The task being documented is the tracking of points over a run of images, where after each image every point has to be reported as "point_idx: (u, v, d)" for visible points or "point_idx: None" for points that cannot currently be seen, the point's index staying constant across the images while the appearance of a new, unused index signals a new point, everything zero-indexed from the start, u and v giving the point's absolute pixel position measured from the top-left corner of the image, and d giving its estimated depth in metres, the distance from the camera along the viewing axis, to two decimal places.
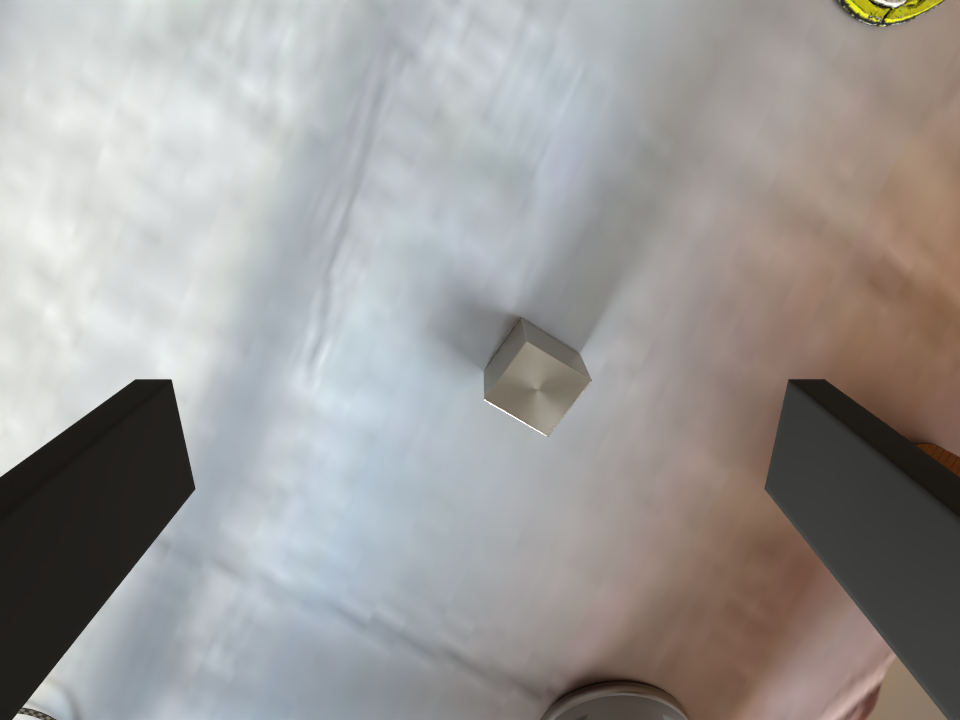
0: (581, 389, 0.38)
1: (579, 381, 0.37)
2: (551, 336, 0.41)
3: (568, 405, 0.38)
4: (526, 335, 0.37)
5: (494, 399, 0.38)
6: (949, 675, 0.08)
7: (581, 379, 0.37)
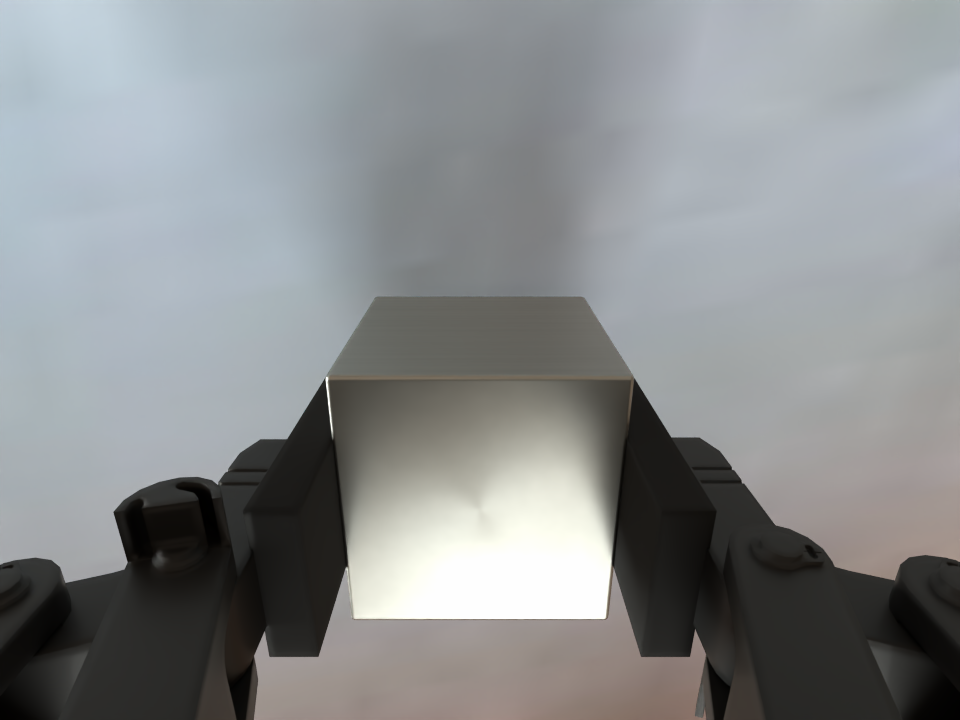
0: (563, 613, 0.11)
1: (585, 592, 0.11)
2: None
3: (489, 610, 0.11)
4: None
5: (353, 407, 0.09)
6: (625, 569, 0.10)
7: (595, 595, 0.11)
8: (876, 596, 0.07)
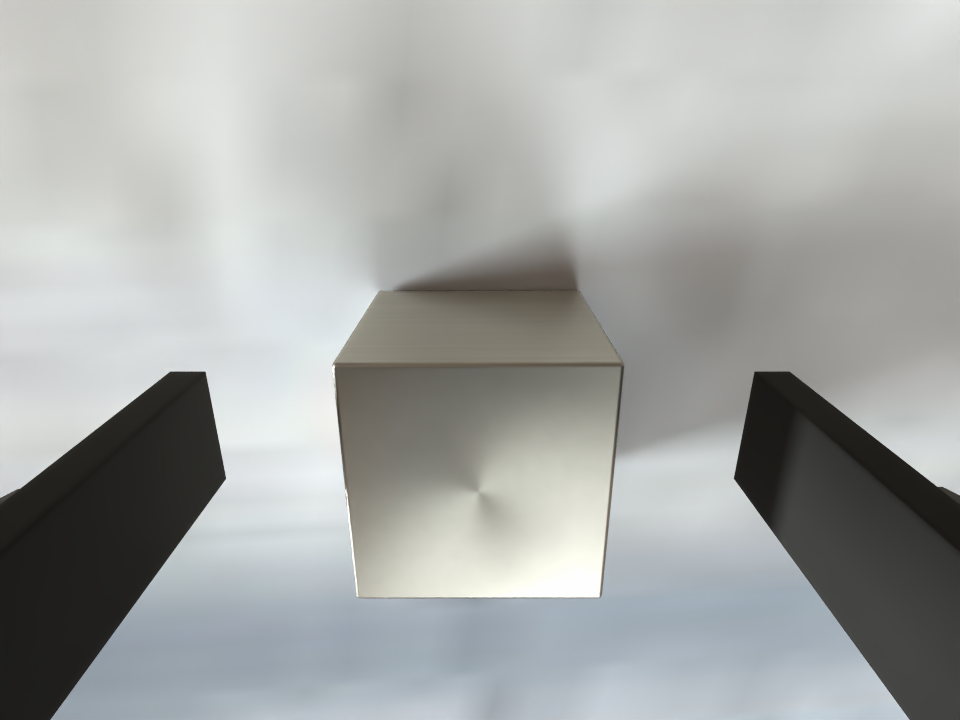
0: (558, 592, 0.12)
1: (579, 572, 0.11)
2: None
3: (489, 589, 0.12)
4: None
5: (358, 394, 0.10)
6: (890, 650, 0.08)
7: (588, 574, 0.11)
8: None
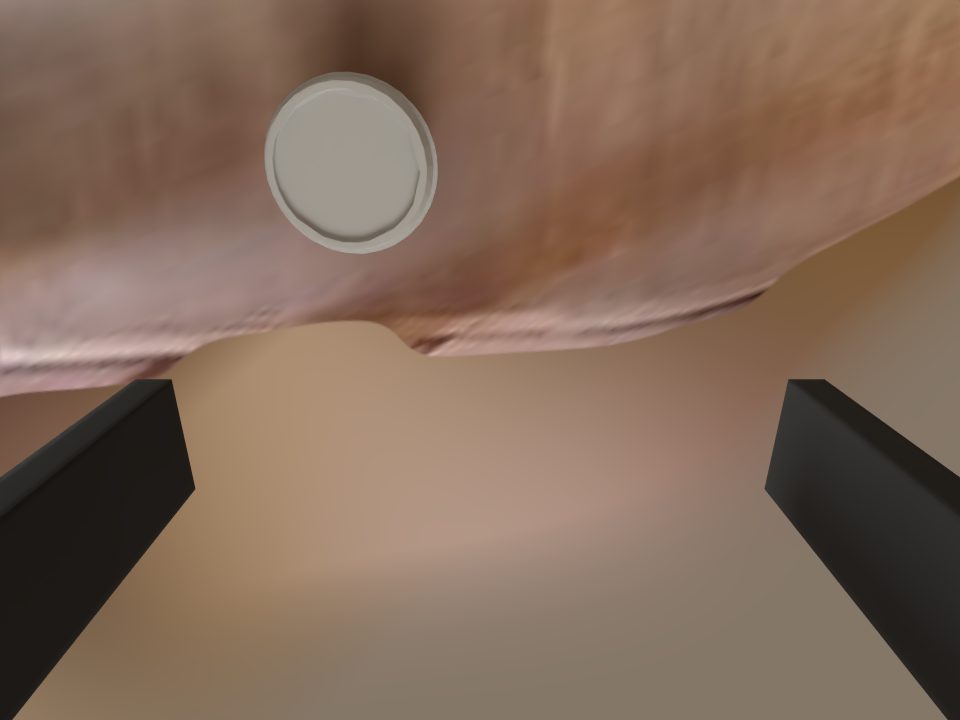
0: None
1: None
2: None
3: None
4: None
5: None
6: (948, 675, 0.08)
7: None
8: None
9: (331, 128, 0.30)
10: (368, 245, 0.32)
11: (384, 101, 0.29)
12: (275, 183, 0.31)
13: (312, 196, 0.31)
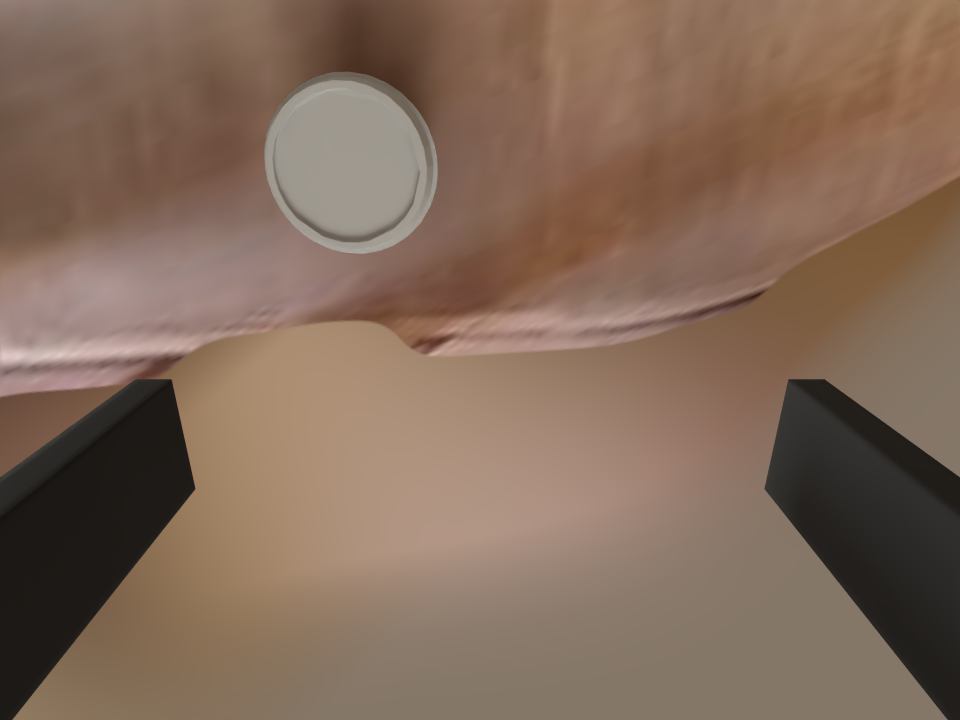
0: None
1: None
2: None
3: None
4: None
5: None
6: (948, 675, 0.08)
7: None
8: None
9: (331, 128, 0.30)
10: (368, 245, 0.32)
11: (384, 101, 0.29)
12: (275, 183, 0.31)
13: (312, 196, 0.31)
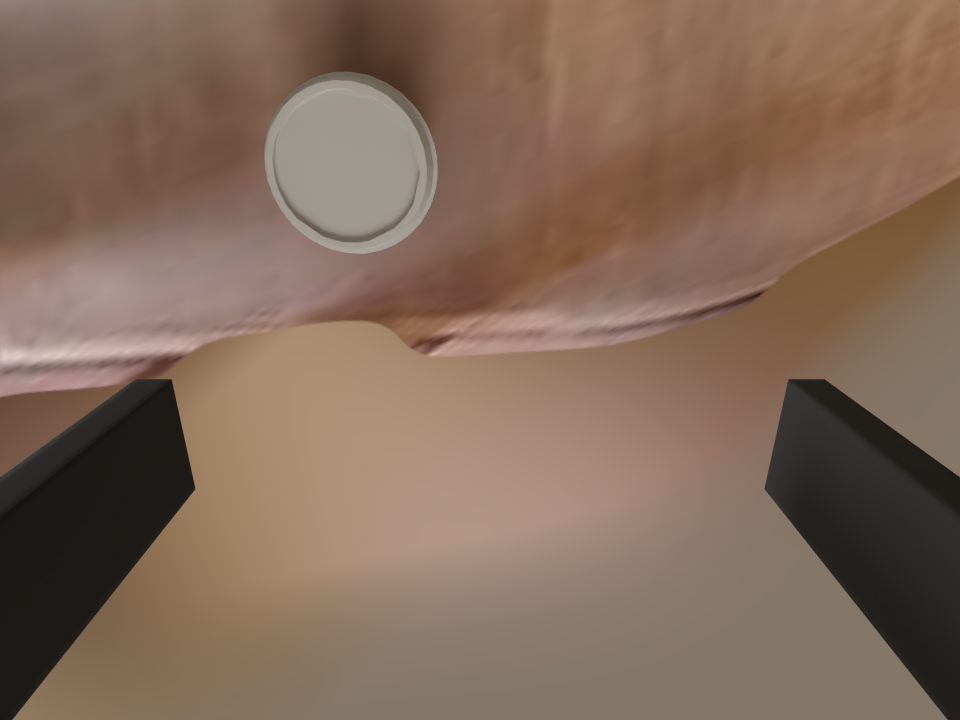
0: None
1: None
2: None
3: None
4: None
5: None
6: (948, 675, 0.08)
7: None
8: None
9: (331, 128, 0.30)
10: (368, 245, 0.32)
11: (384, 101, 0.29)
12: (275, 183, 0.31)
13: (312, 196, 0.31)
